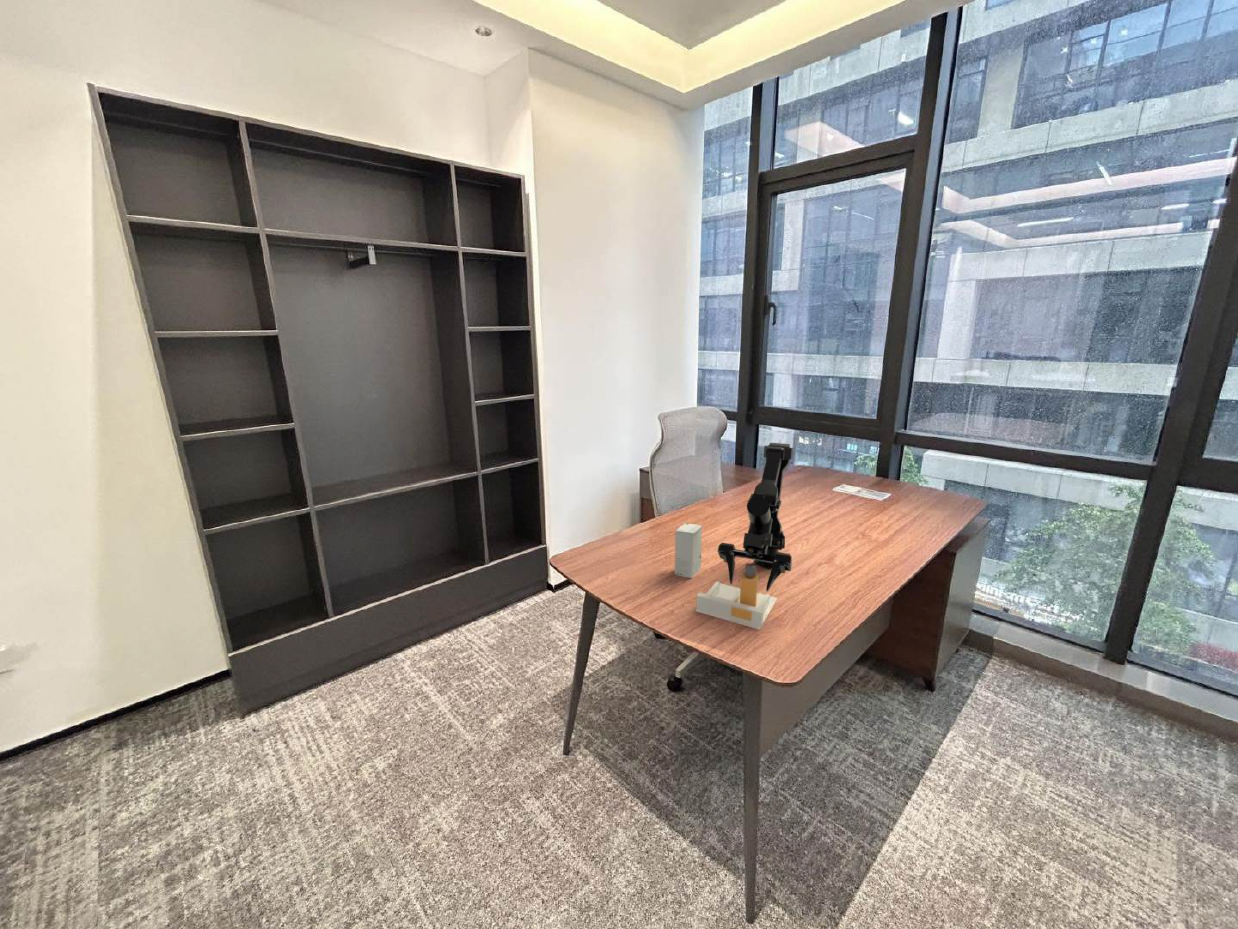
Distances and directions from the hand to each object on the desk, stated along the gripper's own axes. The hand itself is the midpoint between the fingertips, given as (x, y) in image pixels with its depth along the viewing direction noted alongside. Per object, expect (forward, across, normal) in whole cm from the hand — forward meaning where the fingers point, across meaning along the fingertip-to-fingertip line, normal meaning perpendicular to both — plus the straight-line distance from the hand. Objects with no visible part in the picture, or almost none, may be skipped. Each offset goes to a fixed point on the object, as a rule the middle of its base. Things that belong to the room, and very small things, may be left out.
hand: (748, 587), depth 129 cm
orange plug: (+4, 0, +6) cm, 8 cm away
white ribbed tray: (+3, -3, +8) cm, 9 cm away
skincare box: (-6, -22, +18) cm, 29 cm away
